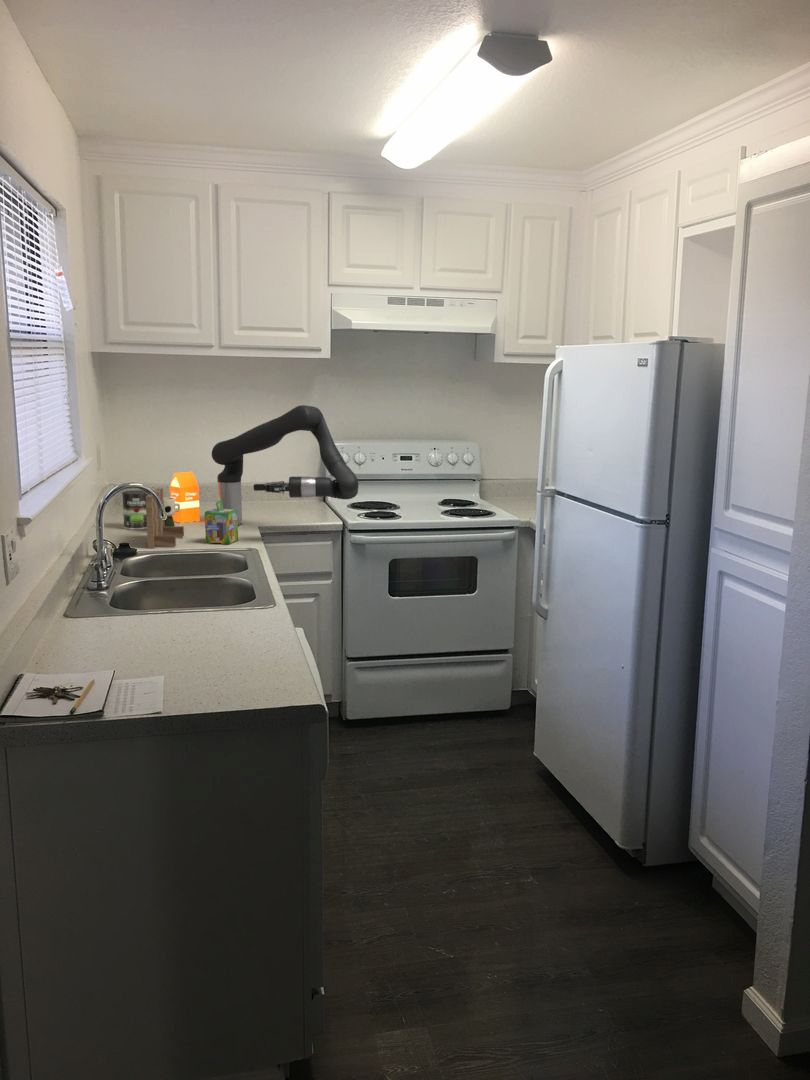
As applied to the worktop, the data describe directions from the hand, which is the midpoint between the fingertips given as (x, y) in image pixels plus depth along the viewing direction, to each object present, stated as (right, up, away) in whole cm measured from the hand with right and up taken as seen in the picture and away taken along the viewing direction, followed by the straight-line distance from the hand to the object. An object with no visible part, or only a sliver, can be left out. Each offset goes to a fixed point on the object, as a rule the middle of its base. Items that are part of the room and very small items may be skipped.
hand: (253, 487), depth 308 cm
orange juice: (-36, -11, +46) cm, 59 cm away
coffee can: (-51, -14, +30) cm, 60 cm away
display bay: (-31, -20, +1) cm, 37 cm away
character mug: (-37, -16, +20) cm, 45 cm away
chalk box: (-12, -20, +3) cm, 23 cm away
